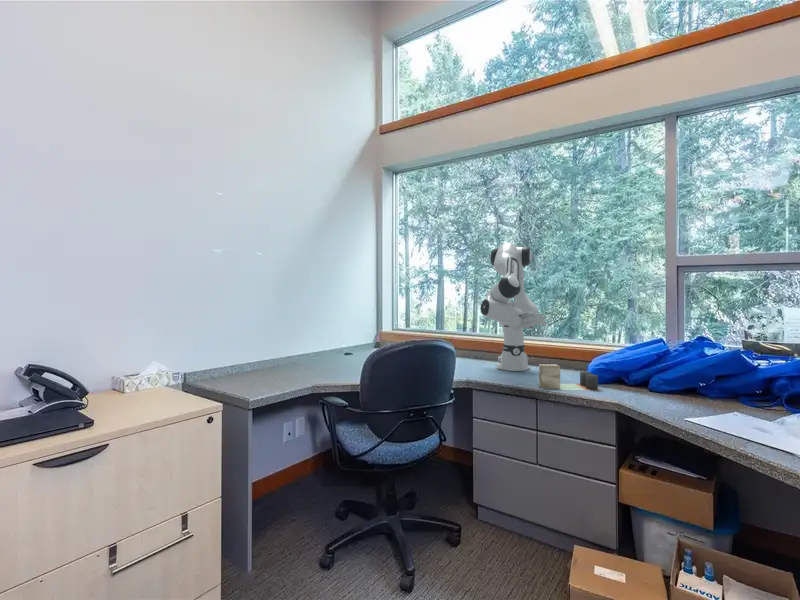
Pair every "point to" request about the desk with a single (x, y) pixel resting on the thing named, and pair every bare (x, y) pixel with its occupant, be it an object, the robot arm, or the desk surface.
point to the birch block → (549, 375)
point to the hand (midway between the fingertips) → (538, 325)
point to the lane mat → (568, 387)
